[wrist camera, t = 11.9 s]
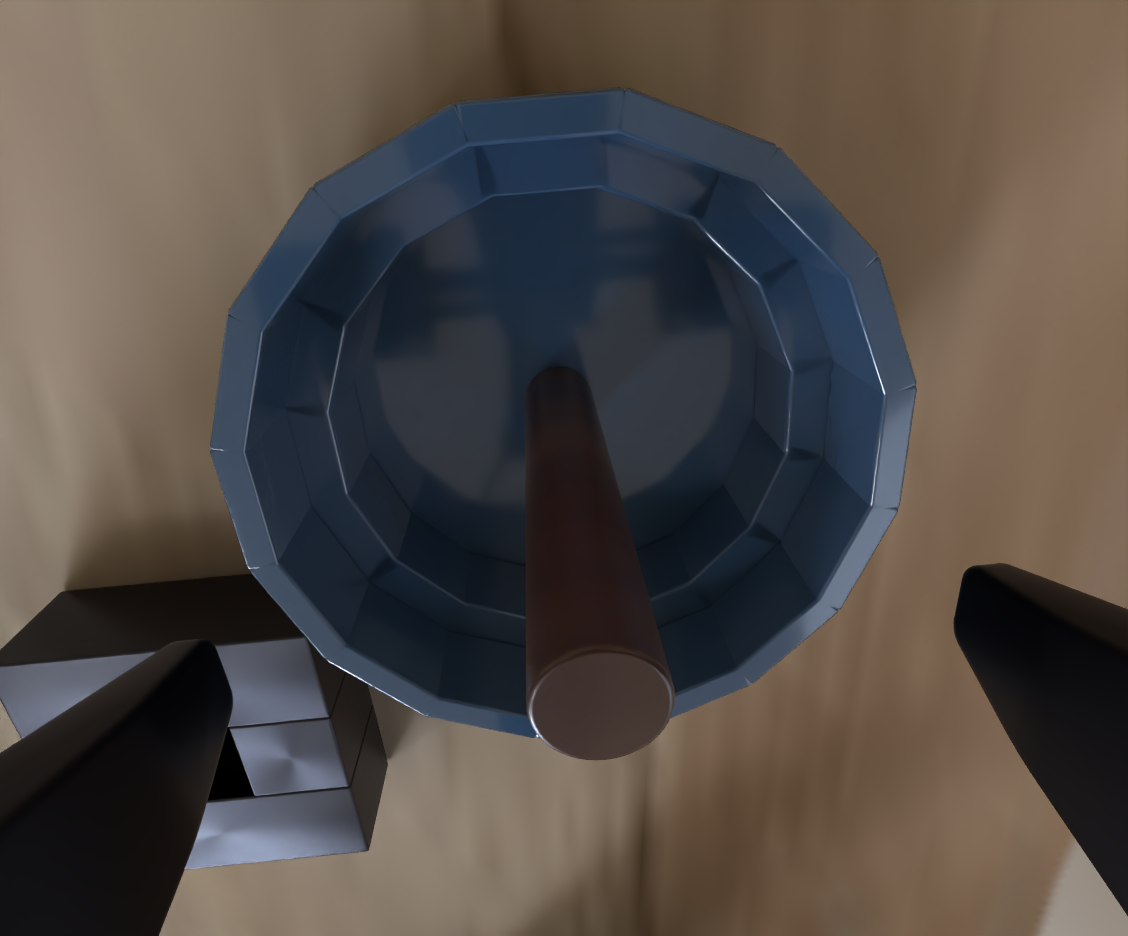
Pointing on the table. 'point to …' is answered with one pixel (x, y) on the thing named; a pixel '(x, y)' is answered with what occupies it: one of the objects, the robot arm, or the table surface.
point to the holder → (259, 716)
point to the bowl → (569, 340)
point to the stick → (584, 587)
